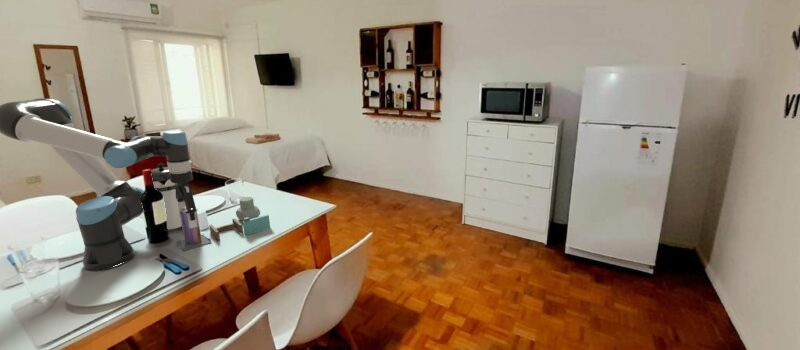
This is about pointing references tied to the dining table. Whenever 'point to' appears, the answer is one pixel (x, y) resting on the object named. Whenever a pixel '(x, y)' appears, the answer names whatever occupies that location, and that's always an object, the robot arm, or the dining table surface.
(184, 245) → the mat
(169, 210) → the coffee press
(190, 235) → the beverage can
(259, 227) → the teal box
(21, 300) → the dining table surface
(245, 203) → the air freshener
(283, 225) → the dining table surface
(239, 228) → the holder
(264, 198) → the dining table surface
